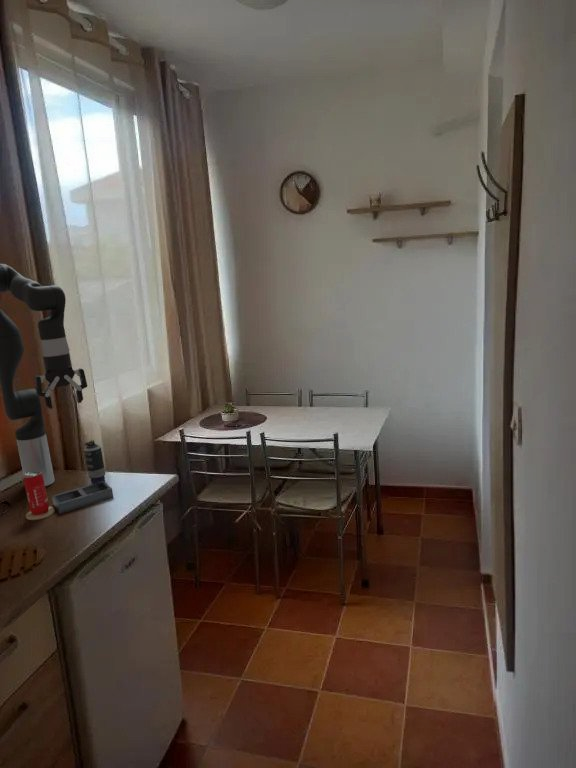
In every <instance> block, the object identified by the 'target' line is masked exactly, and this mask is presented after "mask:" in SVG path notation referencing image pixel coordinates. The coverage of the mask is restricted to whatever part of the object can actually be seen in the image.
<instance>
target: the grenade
mask: <svg viewBox="0 0 576 768" xmlns="http://www.w3.org/2000/svg"><path fill="white" fill-rule="evenodd" d="M82 442H83V440H80V443H79V444H80V446H82ZM84 446H85V447H84V449H83V452H84V458H85V465H86V469H87V470H86V471H87V475H88V478H89V479H90V485H91V484H95V483H98V482H102V481H104V482H105V483H106V479H105V478H106V477H105V476H106V469H105V464H104V457H103V452H102V447H101V445H99V444H97V443H95V439H94V440H93V439H92V440H90V441H87V442H84Z"/></svg>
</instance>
